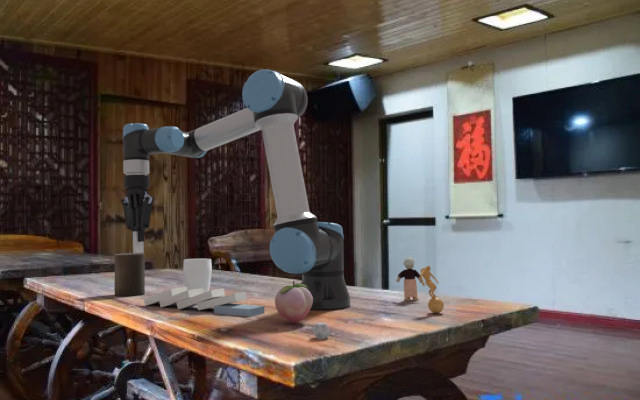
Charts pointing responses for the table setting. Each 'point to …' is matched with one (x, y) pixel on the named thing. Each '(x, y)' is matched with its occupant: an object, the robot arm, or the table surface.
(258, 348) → the table surface
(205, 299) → the domino
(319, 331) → the game die
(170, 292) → the domino
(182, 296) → the domino
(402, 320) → the table surface
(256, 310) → the blue domino
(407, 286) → the grandmother figurine
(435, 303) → the figurine
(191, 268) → the cup
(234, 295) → the domino
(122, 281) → the pillar candle
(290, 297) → the decorative fruit
